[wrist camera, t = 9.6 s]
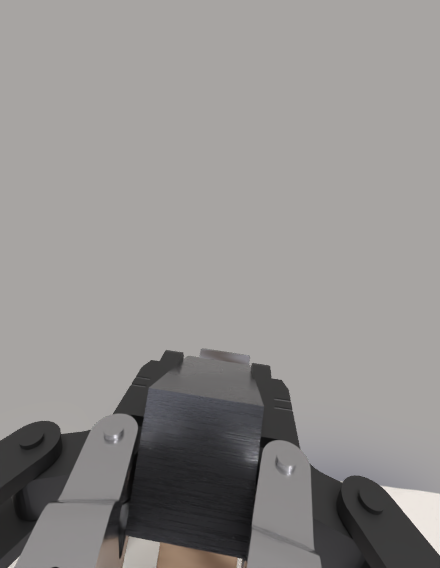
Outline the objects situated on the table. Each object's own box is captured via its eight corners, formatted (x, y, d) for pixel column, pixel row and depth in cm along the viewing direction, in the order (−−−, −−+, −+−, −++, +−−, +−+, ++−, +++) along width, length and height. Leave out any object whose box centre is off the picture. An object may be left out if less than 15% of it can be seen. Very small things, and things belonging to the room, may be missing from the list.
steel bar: (237, 381, 24) (242, 342, 25) (247, 559, 6) (263, 405, 7) (204, 376, 24) (209, 337, 25) (124, 535, 7) (149, 387, 7)
